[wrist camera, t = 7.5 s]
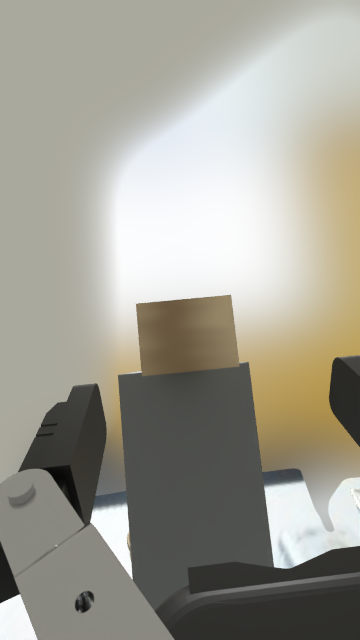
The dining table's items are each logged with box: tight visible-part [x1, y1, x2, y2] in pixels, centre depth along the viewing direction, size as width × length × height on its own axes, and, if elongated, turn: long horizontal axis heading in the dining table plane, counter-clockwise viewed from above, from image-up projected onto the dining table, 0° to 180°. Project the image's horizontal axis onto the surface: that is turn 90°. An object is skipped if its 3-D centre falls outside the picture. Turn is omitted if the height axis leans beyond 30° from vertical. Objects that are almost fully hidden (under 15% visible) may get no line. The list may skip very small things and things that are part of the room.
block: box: [136, 295, 240, 376], centre depth 29 cm, size 4×30×3 cm, turn 1°
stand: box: [118, 362, 274, 610], centre depth 33 cm, size 10×20×37 cm, turn 1°
